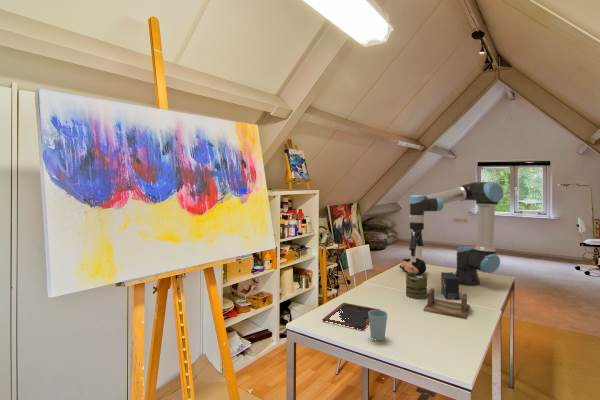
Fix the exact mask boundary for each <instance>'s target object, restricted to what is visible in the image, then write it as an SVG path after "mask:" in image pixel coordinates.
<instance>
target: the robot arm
mask: <svg viewBox="0 0 600 400" xmlns="http://www.w3.org/2000/svg"><path fill="white" fill-rule="evenodd" d="M503 197H504V189H503V187H502V186H501V185H500V184H499V183H498V182H495V181H475V182H474V181H473V182H470V183H465V184H461V185H459V186H458V185H457V187H456V188H453V189H450V190H449V189H448V190H445V191H440V192H436V193H431V194H427V195H423V194H411V195H410V197H409V201H408V207H409V216H408V218H409V229H410V230H412V231H411V235H410V244H409V248H408V250H409V251H410V259H411V262H416V258H418V259H421V258H423V256H422V255H423V254H422V253H423V251H422V250H423V248H422V247H424V243H423V234H422V233H423V231H422V230H425V229H424V228H425V225H424V224H425V223H424V222H425V212H441V211H442V210H443V209H444V204H449V203H453V202H458V201H460V202H464V201H475V205H477V207H478V210H477V211H478V213H477V214H478V215H477V233H476V234H477V237H476V246H459V247H457V248H456V271H455V273H454V274H455V275H456V276H457V277H458V278H459V285H463V286H478V285H480V283H481V280H480V277H479V274H478V271H480V272H482V273H488V274H491V273H494V272H496V271H497V270H498V269H499V268H500V266H501V259H500V257H499V255H497V250H496V249H495V248H494V236H495V235H494V234H495V215H496V214H495V212H496V207H497V206H498V205H499V202H500V201H501V200H502V199H503Z"/></svg>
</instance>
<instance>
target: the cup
mask: <svg viewBox="0 0 600 400" xmlns="http://www.w3.org/2000/svg"><path fill="white" fill-rule="evenodd" d="M368 315H369V323H370V324H369V330H370V338H371V337H372V338H373V339H376V340H382V341H384V340H385V339H384V338H386V329H387V320H388V312H386V311H384V310H381V309H380V310H371V311H369V312H368ZM372 338H371V339H372ZM373 339H372V340H373ZM383 339H384V340H383ZM376 340H375V341H376Z"/></svg>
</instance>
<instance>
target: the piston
mask: <svg viewBox="0 0 600 400" xmlns="http://www.w3.org/2000/svg"><path fill="white" fill-rule="evenodd" d="M405 285H406V286H405V296H406V297H407V298H408V297H409V298H408V299H411V298H412V300H419V301H420V300H426V299H428V288H427V287H428V276H427V275H426V273H423V276H422V277H417V275H414V273H409V272H406V273H405Z"/></svg>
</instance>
